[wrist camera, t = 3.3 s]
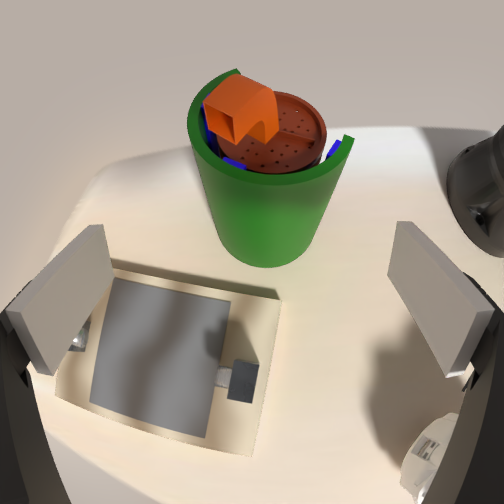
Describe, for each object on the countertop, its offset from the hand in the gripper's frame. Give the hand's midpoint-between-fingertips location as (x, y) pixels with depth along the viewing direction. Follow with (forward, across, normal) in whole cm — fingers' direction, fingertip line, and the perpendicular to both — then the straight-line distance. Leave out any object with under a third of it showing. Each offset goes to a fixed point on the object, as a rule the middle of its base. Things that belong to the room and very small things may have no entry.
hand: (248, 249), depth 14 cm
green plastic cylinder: (+18, +1, -6) cm, 19 cm away
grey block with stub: (+7, -1, -16) cm, 17 cm away
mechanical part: (0, +20, -25) cm, 32 cm away
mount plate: (+9, -9, -16) cm, 20 cm away
